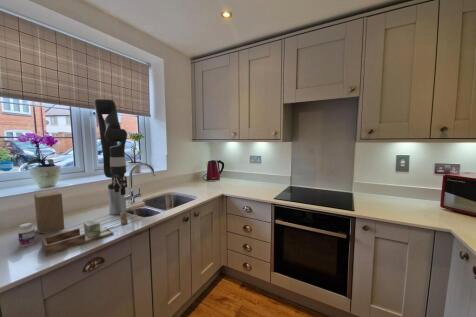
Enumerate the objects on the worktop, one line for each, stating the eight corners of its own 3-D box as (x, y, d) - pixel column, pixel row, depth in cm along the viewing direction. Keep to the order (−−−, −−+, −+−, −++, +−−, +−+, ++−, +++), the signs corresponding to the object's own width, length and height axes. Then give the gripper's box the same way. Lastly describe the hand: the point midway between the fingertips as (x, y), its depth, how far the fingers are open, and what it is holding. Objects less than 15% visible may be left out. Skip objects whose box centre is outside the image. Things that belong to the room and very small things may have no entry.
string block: (124, 222, 119) (124, 210, 118) (129, 225, 115) (129, 213, 114) (84, 233, 104) (83, 220, 104) (88, 237, 100) (87, 224, 99)
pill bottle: (19, 243, 97) (17, 224, 96) (35, 240, 101) (34, 221, 100) (19, 248, 93) (17, 227, 92) (35, 244, 97) (33, 224, 96)
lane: (106, 228, 114) (105, 221, 113) (113, 234, 106) (112, 226, 106) (42, 247, 94) (41, 238, 93) (45, 256, 87) (45, 246, 86)
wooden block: (60, 223, 120) (58, 190, 119) (64, 228, 114) (61, 193, 112) (37, 229, 113) (33, 194, 111) (39, 234, 106) (36, 197, 104)
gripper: (130, 165, 111) (132, 194, 112) (120, 163, 120) (121, 190, 121) (116, 167, 105) (118, 197, 107) (105, 164, 114) (107, 192, 115)
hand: (119, 193), depth 114 cm, fingers open, 8 cm apart
